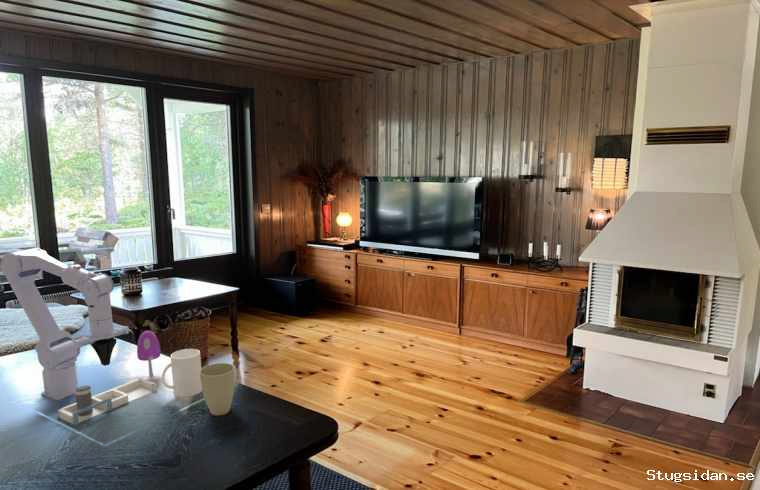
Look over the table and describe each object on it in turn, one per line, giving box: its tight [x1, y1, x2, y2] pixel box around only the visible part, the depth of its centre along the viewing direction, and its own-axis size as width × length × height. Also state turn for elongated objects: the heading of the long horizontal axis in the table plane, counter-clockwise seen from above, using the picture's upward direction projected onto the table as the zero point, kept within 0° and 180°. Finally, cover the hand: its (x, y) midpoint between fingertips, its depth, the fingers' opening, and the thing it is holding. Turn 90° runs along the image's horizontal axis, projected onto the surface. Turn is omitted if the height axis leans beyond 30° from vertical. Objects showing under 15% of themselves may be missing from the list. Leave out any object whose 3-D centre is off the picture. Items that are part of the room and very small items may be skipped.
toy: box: [136, 330, 161, 376], centre depth 166 cm, size 7×7×15 cm
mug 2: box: [200, 362, 236, 416], centre depth 143 cm, size 11×10×12 cm
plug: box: [74, 385, 93, 416], centre depth 141 cm, size 4×4×7 cm
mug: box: [161, 348, 203, 398], centre depth 153 cm, size 12×8×12 cm
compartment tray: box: [56, 377, 158, 426], centre depth 147 cm, size 8×24×4 cm, turn 147°
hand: (105, 364), depth 150 cm, fingers closed
